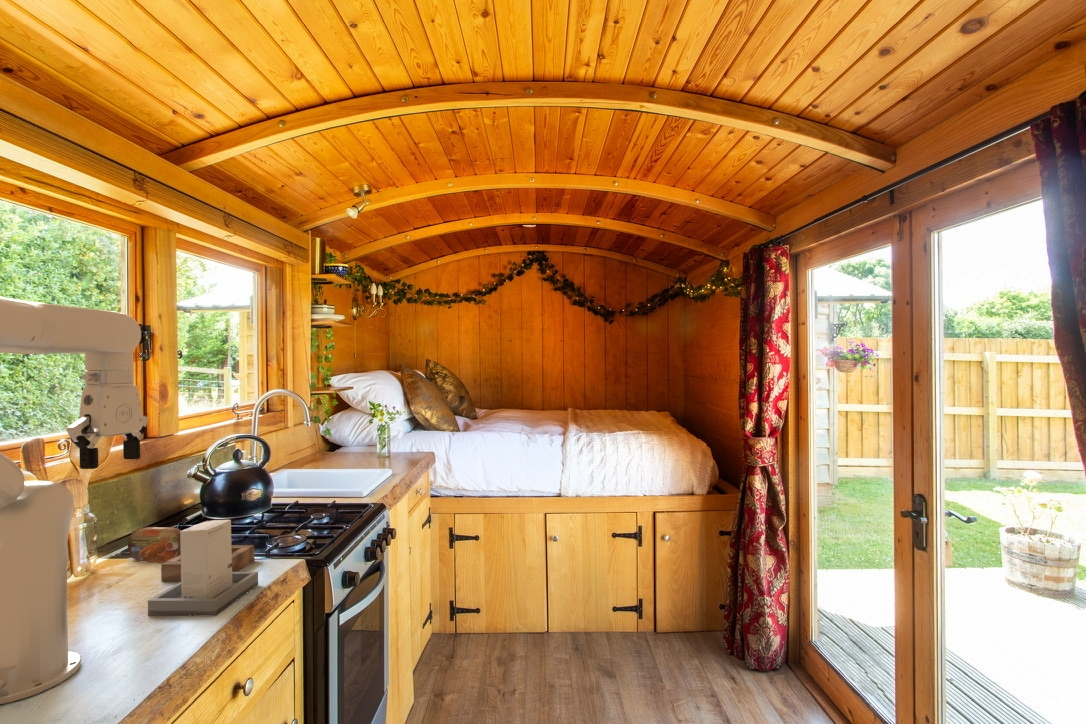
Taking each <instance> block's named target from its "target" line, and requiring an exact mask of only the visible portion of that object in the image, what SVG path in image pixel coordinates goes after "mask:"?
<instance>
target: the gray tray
mask: <svg viewBox="0 0 1086 724" xmlns="http://www.w3.org/2000/svg"><path fill="white" fill-rule="evenodd" d="M257 585H258V586H259V571H238V572H232V586H231V587H230V588H228V589H226V590H224V591H223V592H221V593H220V594H218V595H217V596H215V597H214V598H181V582H177V584H174V585H173V586H171V587H169V588H167V589H166V590H164V591H162V592H160V593H158V594H157V595H155V596H153V597H151V598H150V599H148V600H147V616H148V617H149V616H151V617H152V616H157V617H158V616H160V617H161V616H162V617H163V616H164V617H165V616H166V617H167V616H170V617H172V616H175V617H176V616H178V617H180V616H183V617H184V616H187V617H190V616H189V615H191V617H195V616H194V615H197V616H196V617H199V615H216V616H217V615H219V614H220V613H222V612H223V611H225V610H226V609H227V608H229V607H230V606H231V604H232V603H233V602H234V603H235V601H236V600H237V599H238V600H240V599H241V598H242V597H241V596H243V595H244V596H246V595H247V594H248V593H249V592H251V591H253V590H254V589H255V588H256V587H258V586H257ZM254 587H255V588H254ZM253 588H254V589H253ZM250 590H251V591H250ZM247 592H248V593H247ZM246 593H247V594H246ZM244 596H243V597H244ZM240 597H241V598H240ZM239 598H240V599H239ZM238 600H237V601H238ZM237 601H236V602H237ZM234 603H233V604H234ZM233 604H232V605H233ZM229 605H230V606H229ZM228 606H229V607H228Z"/></svg>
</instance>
